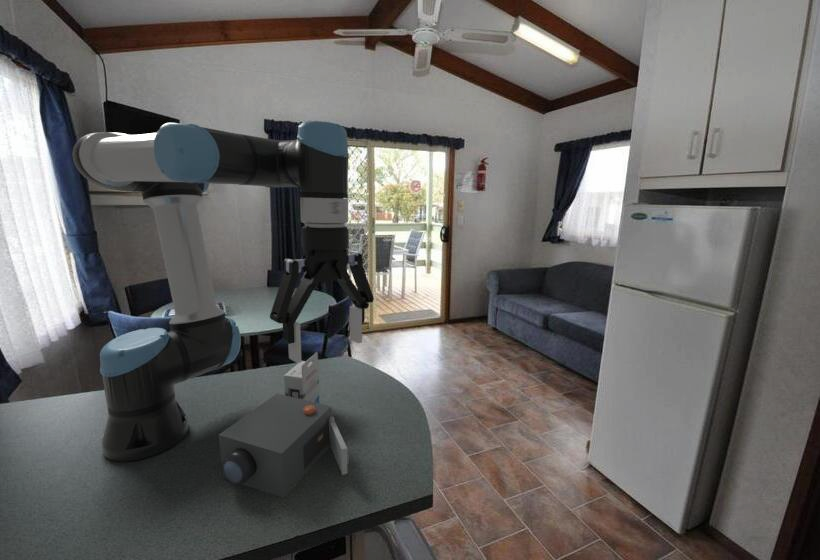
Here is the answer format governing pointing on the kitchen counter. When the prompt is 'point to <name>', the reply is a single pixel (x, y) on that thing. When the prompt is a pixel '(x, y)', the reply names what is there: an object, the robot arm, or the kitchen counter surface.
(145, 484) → the kitchen counter surface
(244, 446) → the block
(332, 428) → the side door
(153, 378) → the robot arm
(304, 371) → the ink box
